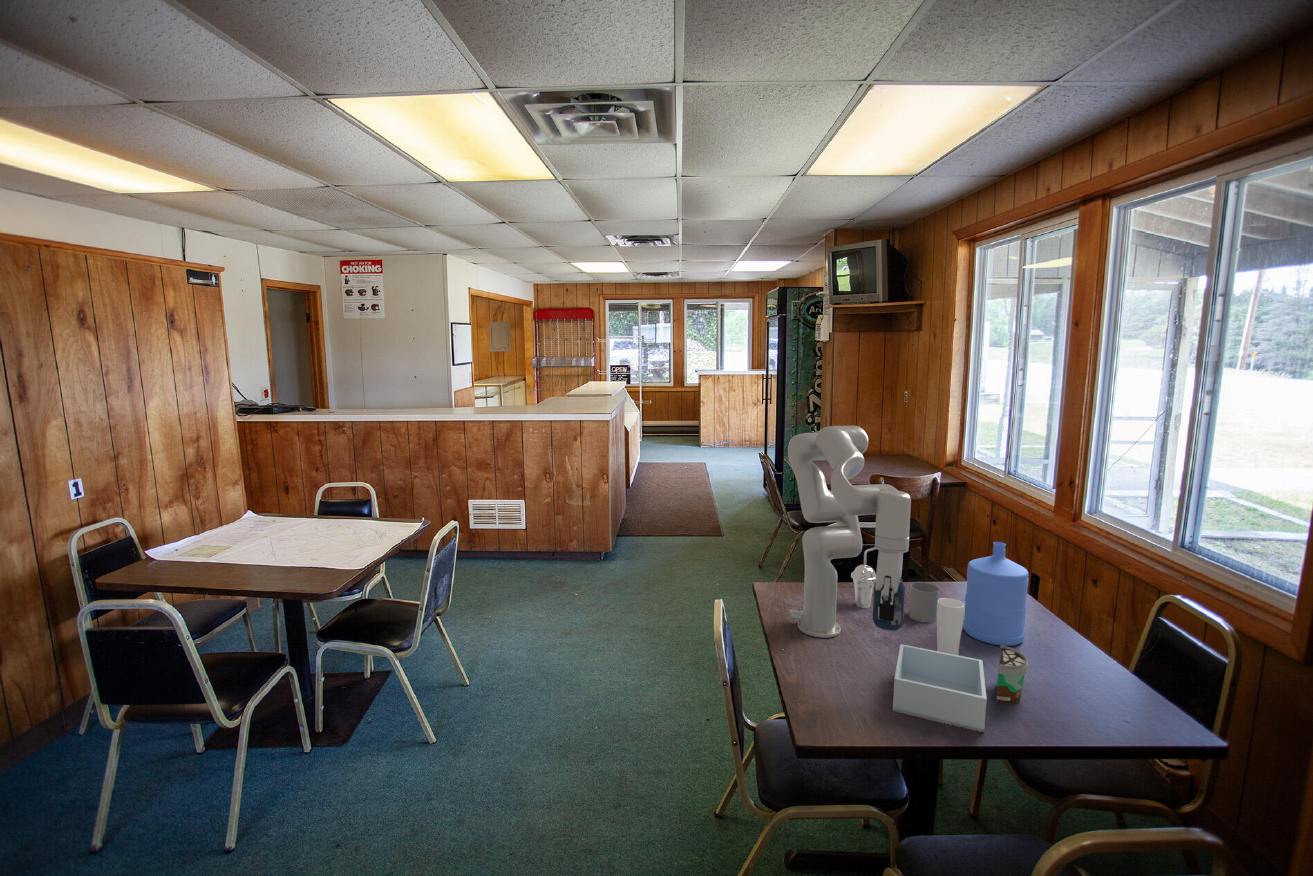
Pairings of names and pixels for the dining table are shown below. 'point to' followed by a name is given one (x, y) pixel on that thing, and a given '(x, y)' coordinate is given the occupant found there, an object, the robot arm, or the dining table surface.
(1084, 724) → the dining table surface
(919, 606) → the cup
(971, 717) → the open storage bin
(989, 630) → the water jug
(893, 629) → the soda can
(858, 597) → the cup with straw
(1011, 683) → the food container
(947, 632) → the drinking glass
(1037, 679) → the dining table surface
